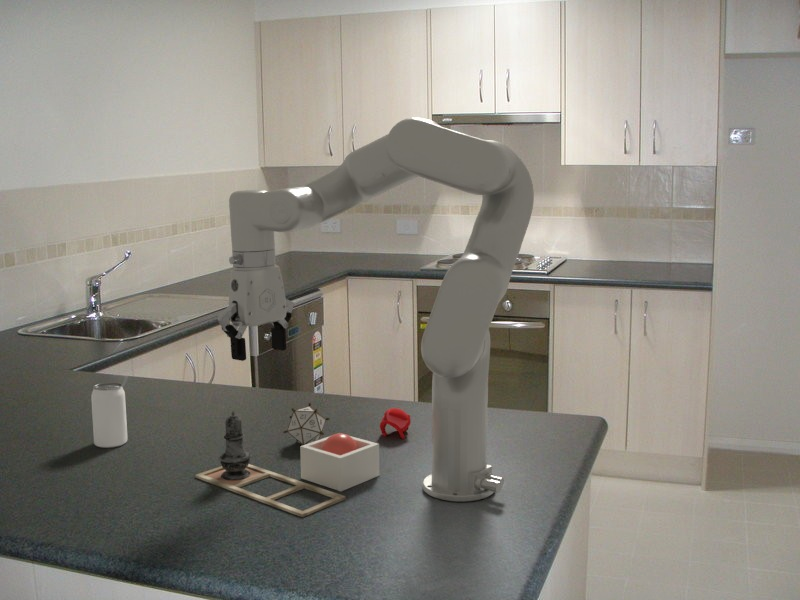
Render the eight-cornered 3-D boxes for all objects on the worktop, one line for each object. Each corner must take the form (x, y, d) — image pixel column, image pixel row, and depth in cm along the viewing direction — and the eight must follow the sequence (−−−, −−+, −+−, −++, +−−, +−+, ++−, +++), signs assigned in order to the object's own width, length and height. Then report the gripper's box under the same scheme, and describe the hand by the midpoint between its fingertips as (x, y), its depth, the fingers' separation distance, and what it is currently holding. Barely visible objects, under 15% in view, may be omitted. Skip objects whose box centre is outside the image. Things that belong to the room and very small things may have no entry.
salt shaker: (258, 473, 162) (256, 409, 160) (236, 483, 157) (233, 418, 155) (235, 467, 165) (232, 404, 163) (212, 476, 161) (209, 412, 159)
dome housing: (379, 475, 161) (379, 443, 160) (340, 491, 154) (340, 458, 153) (339, 463, 168) (339, 432, 167) (301, 478, 160) (300, 446, 159)
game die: (305, 458, 182) (312, 412, 186) (334, 452, 176) (340, 405, 181) (271, 445, 176) (279, 398, 181) (299, 439, 171) (307, 390, 175)
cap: (404, 428, 179) (417, 407, 183) (377, 416, 180) (391, 395, 184) (401, 450, 185) (414, 429, 188) (376, 438, 186) (389, 418, 190)
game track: (345, 499, 151) (345, 496, 150) (302, 517, 143) (302, 514, 143) (238, 462, 168) (238, 460, 168) (195, 477, 161) (195, 474, 161)
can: (133, 443, 180) (130, 385, 178) (104, 450, 176) (100, 391, 174) (117, 436, 185) (114, 380, 183) (88, 443, 180) (84, 386, 178)
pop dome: (365, 467, 161) (364, 433, 160) (340, 477, 156) (340, 442, 155) (339, 459, 165) (339, 426, 164) (315, 469, 160) (314, 434, 159)
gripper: (230, 266, 149) (236, 366, 151) (303, 256, 162) (308, 348, 165) (201, 264, 154) (208, 361, 156) (275, 254, 167) (280, 343, 169)
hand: (259, 354), depth 160 cm, fingers open, 9 cm apart
